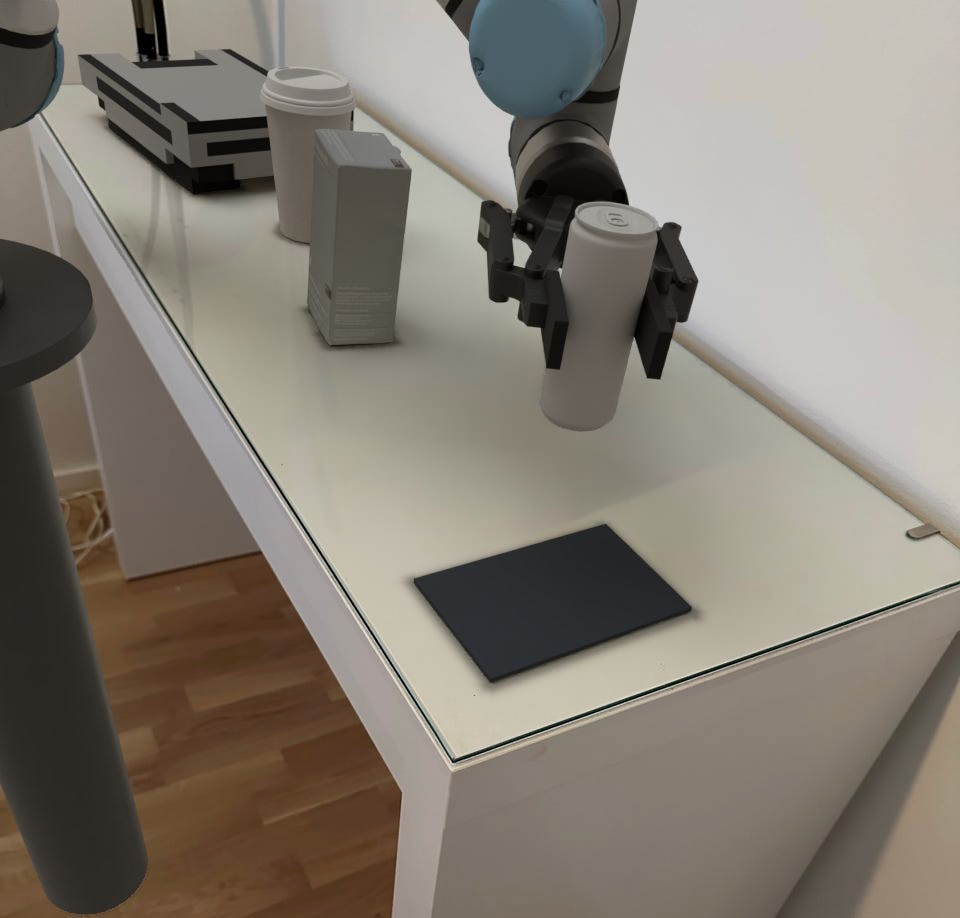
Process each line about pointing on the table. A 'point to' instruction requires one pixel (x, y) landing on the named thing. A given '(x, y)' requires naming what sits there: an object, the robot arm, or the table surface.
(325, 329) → the cosmetic box
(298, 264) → the table surface
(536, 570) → the mat
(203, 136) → the game console
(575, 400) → the beverage can
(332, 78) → the coffee cup
